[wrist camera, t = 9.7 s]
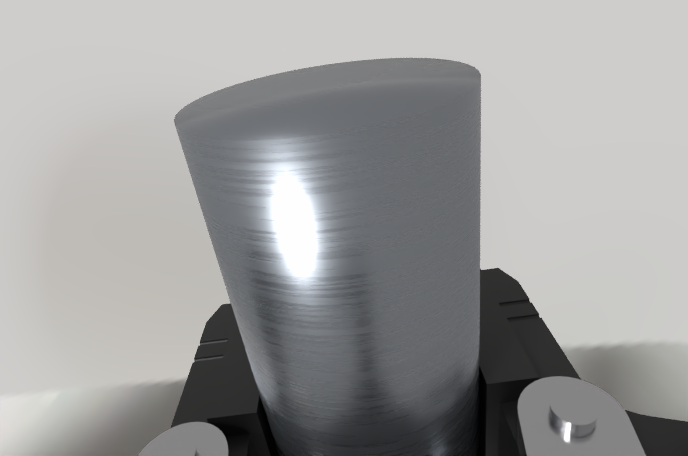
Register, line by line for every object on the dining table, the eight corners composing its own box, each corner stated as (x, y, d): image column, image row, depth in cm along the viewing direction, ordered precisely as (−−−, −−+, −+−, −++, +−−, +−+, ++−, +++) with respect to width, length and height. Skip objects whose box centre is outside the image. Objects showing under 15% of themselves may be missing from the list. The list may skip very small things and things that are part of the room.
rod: (338, 723, 9) (124, 161, 4) (335, 551, 12) (210, 81, 6) (498, 707, 9) (534, 103, 4) (457, 536, 12) (440, 47, 6)
